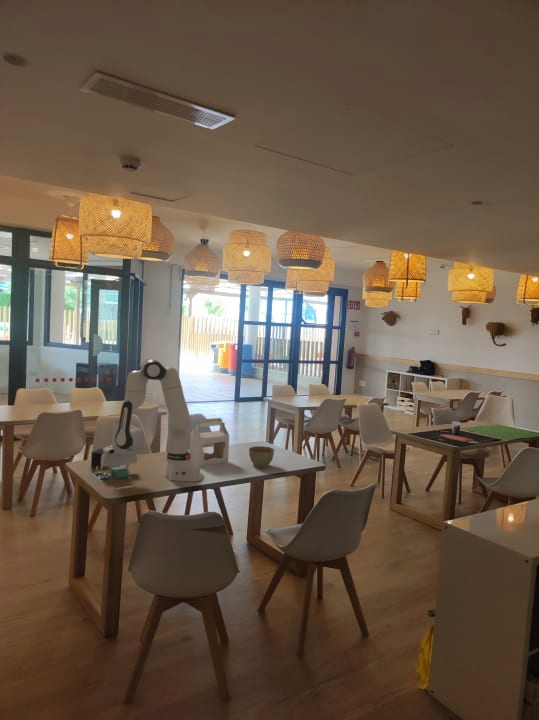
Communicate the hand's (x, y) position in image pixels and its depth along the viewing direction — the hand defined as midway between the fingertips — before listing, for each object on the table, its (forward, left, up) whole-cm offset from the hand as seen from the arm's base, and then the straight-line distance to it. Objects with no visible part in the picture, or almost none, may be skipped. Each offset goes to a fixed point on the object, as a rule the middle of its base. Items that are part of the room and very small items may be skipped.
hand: (118, 472), depth 294 cm
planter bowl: (-73, -48, -2) cm, 88 cm away
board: (0, 0, -1) cm, 1 cm away
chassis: (+2, +5, -2) cm, 6 cm away
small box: (+17, -10, -2) cm, 20 cm away
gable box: (-39, -46, -2) cm, 60 cm away
